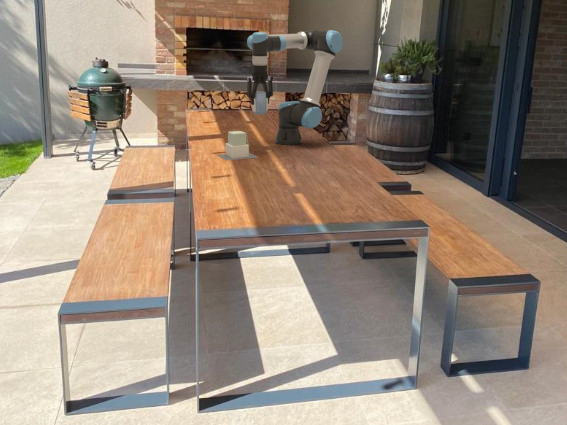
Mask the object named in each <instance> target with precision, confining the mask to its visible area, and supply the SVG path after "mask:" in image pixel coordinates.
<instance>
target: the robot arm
mask: <svg viewBox="0 0 567 425" xmlns="http://www.w3.org/2000/svg"><path fill="white" fill-rule="evenodd" d="M246 45H247V47H248V48H249V49H250V50H251V51H252V53H251V54H252V55H251V56H252V74H251V76H247V77H246V80H247V86H246V88H247V89H246V90H247V92H246V97H248V98H249V99H250V105H251V106H252V108H251V109H252V110H251V111H252V112H256V99H255V98H254V97H255V93H256V91H258V90H257V89H258V86H259V84H261V85H262V89H263V91H265V92H266V112H268V111H269V104H270V98H271V97H273V96H274V91H273V88H274V87H273V79H274V76H271V75H269V74H268V52H269V53H271V52H272V53H273V52H275V53H276V52H282V51H285V49H298V50H305V51H313V52H314V55H315V57H314V62H313V65H312V68H311V72H310V75H309V78H308V81H307V86H306V89H305V93H304V96H303V98H302V99H300V101H299V100H293V101H282V102H280V103H279V104H278V109H277V110H278V129H277V132H276V134H275V138H274V139H275V140H274V143H275V144H279V145H289V146H291V145H300V144H302V143H303V139H302V135H301V131H300V127H302V128H306V129H314V128H317V127H318V126H319V124H320V123H321V121H322V118H323V113H322V109H321V103H320V99H321V96H322V93H323V90H324V85H325V82H326V80H327V76H328V72H329V69H330V65H331V62H332V60H333V59H335V58H336V55H337V54H338V53H340V52H341V51H342V49H343V46H344V40H343V36H342V35H341V33H340V32H339V31H337V30H332V29H312V30H305V31H298V32H297V33H281V34H277V33H276V34H268V33H267V32H260V31H259V32H253V33H252V34H251V35H249V36H248V37H247V41H246ZM252 82H253V83H252ZM267 82H268V84H267ZM252 84H253V86H252Z"/></svg>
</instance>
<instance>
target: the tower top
mask: <svg viewBox="0 0 567 425" xmlns="http://www.w3.org/2000/svg"><path fill="white" fill-rule="evenodd" d="M244 132H245V131H242V130H236V131H235V130H233V131H227V143H228V144H230V145H232V146H242V145H246V133H244Z"/></svg>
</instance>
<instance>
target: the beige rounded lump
mask: <svg viewBox="0 0 567 425" xmlns="http://www.w3.org/2000/svg"><path fill="white" fill-rule="evenodd" d="M243 132H244V133H246V144H247V145H249V139H248V135H247V134H248V132H247V131H246V132H245V131H243ZM249 146H250V145H249Z"/></svg>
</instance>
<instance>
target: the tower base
mask: <svg viewBox="0 0 567 425" xmlns="http://www.w3.org/2000/svg"><path fill="white" fill-rule="evenodd" d="M249 153H250V145H247V144H246V145H242V146H232V145H230V144H228V142H226V143H225V154H226V155H227V156H228V157H230V158H232V159H233V158H245V157H249Z"/></svg>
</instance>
